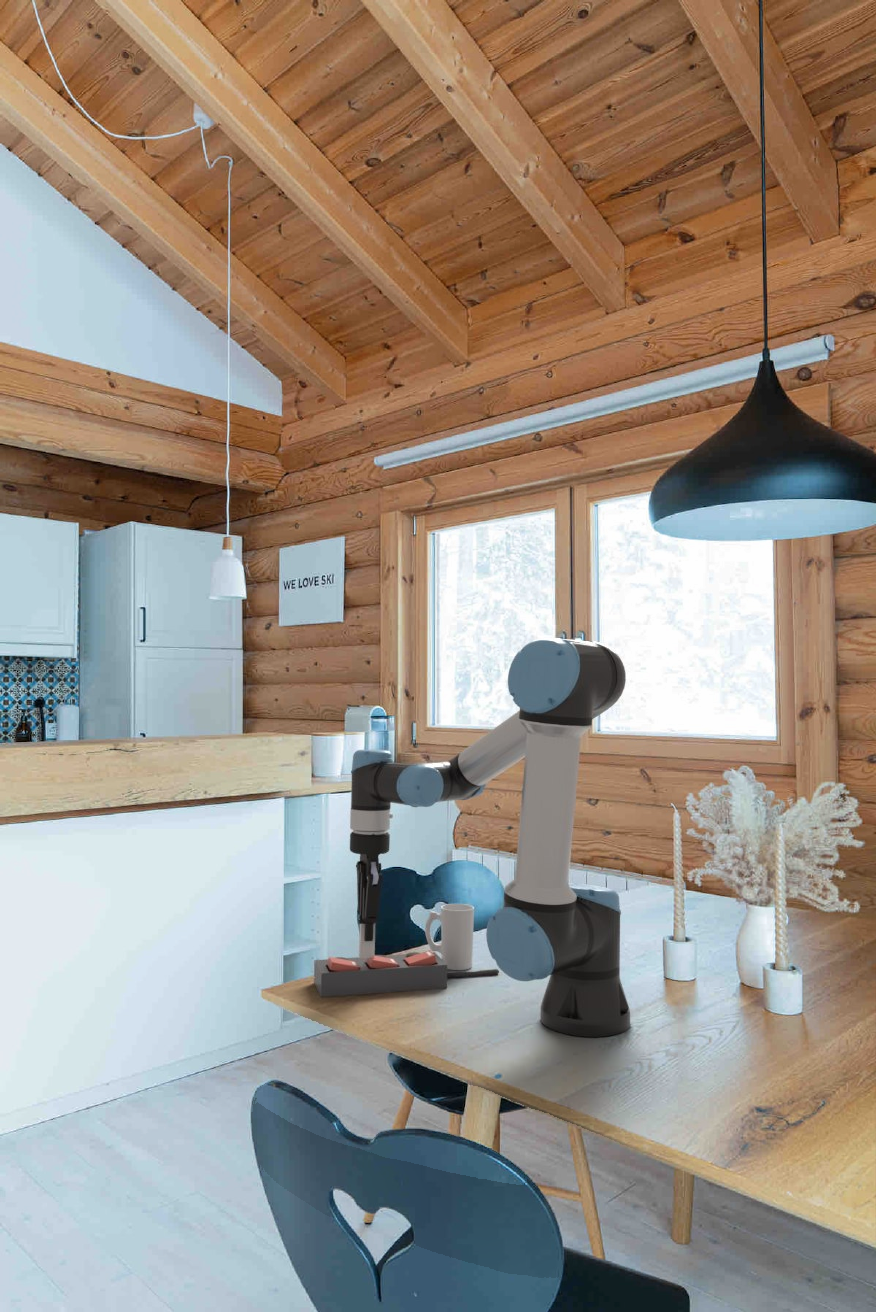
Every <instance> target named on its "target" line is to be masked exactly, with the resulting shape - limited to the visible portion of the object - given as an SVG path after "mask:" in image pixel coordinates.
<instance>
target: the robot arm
mask: <svg viewBox="0 0 876 1312" xmlns="http://www.w3.org/2000/svg"><path fill="white" fill-rule="evenodd" d="M626 677H627V676H626V669H625V665H624V663H623V661H622V659H621V658H620V656H619V654H617V653H616V652H615V650H613V649H612V648H610V646H608V645H605V644H604V643H602V642H601V643H600V642H598V641H597V642H596V641H590V640H588V641H587V640H586V641H585V640H574V639H566V638H561V637H555V638H552V637H550V638H538V639H536V640H532V641H531V642H528V643H527V644H525V645H524V646H523V647H522V648H521V649H520V650H519V651H518V652H517V653H516V654H515V656H514V658H513V659H512V662H511V664H510V667H509V670H508V674H507V688H508V692H509V695H510V696H511V697H512V701H513V702H514V704H515V705H516V706H518V708H519V710H518V711H517V712H515V713H513V714H512V715H511V716H509V717H508V718H507V719H505V720H504V721H503V722H501V723H499V725H497V726H496V727H494V728H493V729H491V730H490V731H489V732H487V733H486V734H485V735H483V736H481V737H480V738H479V739H477V740H476V741H474V742H473V743H472V744H470V745H469V746H468V747H466V748H465V749H464V750H462V751H460V752H459V753H457V754H456V755H455V756H454V757H452V758H451V759H449V760H446V761H433V762H430V761H429V762H416V763H415V762H414V763H405V762H403V763H402V762H394V761H393V758H392V757H393V756H392V755H393V754H392V752H390V750H387V749H357V750H356V751H355V752H354V753H353V755H352V762H351V763H352V764H351V770H350V773H351V774H350V775H351V795H350V800H351V801H350V815H349V817H350V818H349V819H350V820H349V821H350V822H349V824H350V825H349V828H350V830H352V831H351V832H350V835H349V851H350V852H351V853H353V854H355V855H356V854H357V855H359V861H357V862H356V865H355V869H356V882H357V883H356V887H357V888H356V889H357V891H356V892H357V911H356V912H357V915H358V923H357V924H358V925H359V940H358V957H360V958H374V957H375V955H376V954H375V953H376V952H375V951H376V947H375V945H376V944H375V943H376V924H377V923H378V922H379V916H380V915H379V914H380V903H381V902H380V900H381V891H382V882H383V877H384V875H383V873H381V872H382V863H381V862H380V861H379V860H380V859H379V855H381V854H382V855H384V854H388V852H389V851H390V841H391V840H390V838H391V835H390V834H389V832H388V831H389V830H390V827H391V826H390V822H391V821H390V819H392V818H393V817H394V816H393V813H391V807H392V806H391V803H392V804H398V805H405V806H411V807H412V808H419V807H421V808H428V807H432V806H434V805H435V804H436V803H441V802H450V801H467V800H469V799H473V798H476V797H478V796H480V795H482V793H483V792H484V790H485V788H486V786H487V783H489V782H490V781H492V780H493V779H494V778H496V777H497V776H498V775H500V774H502V773H504V772H505V771H506V770H508V769H510V767H513V766H514V765H516V764H517V763H518V762H520V761H522V760H523V759H524V767H523V778H522V779H523V781H522V793H521V801H520V802H521V803H520V804H521V805H520V813H519V814H520V815H519V827H518V837H517V839H518V840H517V849H516V862H515V872H514V873H515V874H514V875H515V876H514V879H512V880H511V881H510V882H509V883H507V884H506V885H505V887H504V891H503V892H504V893H503V902H502V908H499V909H497V910H496V912H494V914H493V915H492V916H490V918H489V920H488V922H487V925H486V934H485V938H486V944H487V948H488V951H489V953H490V956H491V958H492V959H493V960H494V961H495V963H496V966H498V969H500V971H502V972H503V973H504V974H505V975H506V976H508V977H509V978H511V979H513V980H515V981H519V982H532V981H535V980H536V981H537V980H539V981H540V980H543V979H547V978H548V977H549V976H550V977H549V979H548V982H547V986H546V989H545V992H544V995H543V998H542V1001H541V1004H540V1019H539V1020H540V1022H541V1024H542V1025H544V1026H545V1027H547V1028H549V1029H551V1030H552V1031H555V1032H558V1033H562V1034H566V1035H570V1036H571V1035H572V1036H577V1037H587V1038H588V1037H590V1038H591V1037H597V1038H598V1037H608V1036H613V1035H618V1034H621V1033H623V1032H625V1031H627V1030H628V1029H629V1028H630V1026H631V1011H630V1010H631V1009H630V1007H629V1003H628V1001H627V997H626V994H625V991H624V988H623V984H622V981H621V978H620V977H621V975H620V970H621V969H620V968H621V966H620V965H621V962H620V961H621V954H620V953H621V950H620V949H621V915H622V912H621V911H622V910H621V909H620V908H621V907H620V896H619V894H618V893H617V891H616V890H614V889H612V888H609V887H605V886H599V885H594V884H593V885H592V884H586V883H577V882H569V880H570V869H571V857H572V846H573V836H574V835H573V834H574V824H575V823H574V822H575V812H576V811H575V810H576V800H577V798H576V797H577V789H578V788H577V787H578V779H579V778H578V777H579V764H580V754H581V751H580V750H581V744H582V743H581V741H582V736H583V735H584V734H585V733H586V732H587V731H589V730H590V729H591V728H592V726H593V720H594V719H595V718H597V717H599V716H600V715H601V714H603V713H605V712H606V711H608V710H609V709H610V708H612V707H613V706H614V705H615V704H616V703H617V702H618V701H619V699H620V697H621V696H622V695H623V692H624V690H625V686H626V683H627V681H626V680H627V679H626Z"/></svg>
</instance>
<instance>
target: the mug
mask: <svg viewBox="0 0 876 1312" xmlns="http://www.w3.org/2000/svg"><path fill="white" fill-rule="evenodd" d="M474 909H475V906H473V905H471V904H467V903H466V904H465V903H447V904H444V905H441V906H440V913H439V912H437V911H434V910H433V911H432V910H431V911H430V913H429V915H428V917H427V920H426V922H425V927H424V930H425V931H424V933H425V937H426V941H427V944H428V946H429V949H430V951H431V952H436V953H439V954H440V955H441V959H442V960H443V961H444V962H445V963H446V964H447V970H450V971H466V970H467V971H468V970H470V969H471V968H472V967H473V955H474V954H473V952H474V950H473V949H474V948H473V947H474V919H475V918H474V917H475V916H474V915H475V914H474ZM436 920H438V921H440V925H441V927H440V929H441V930H440V931H441V932H440V933H441V935H440V936H441V937H440V938H441V939H440V940H441V943H439V944H438V943H435V942H434V940H433V937H432V935H431V926H432V924H433V922H434V921H436Z"/></svg>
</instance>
